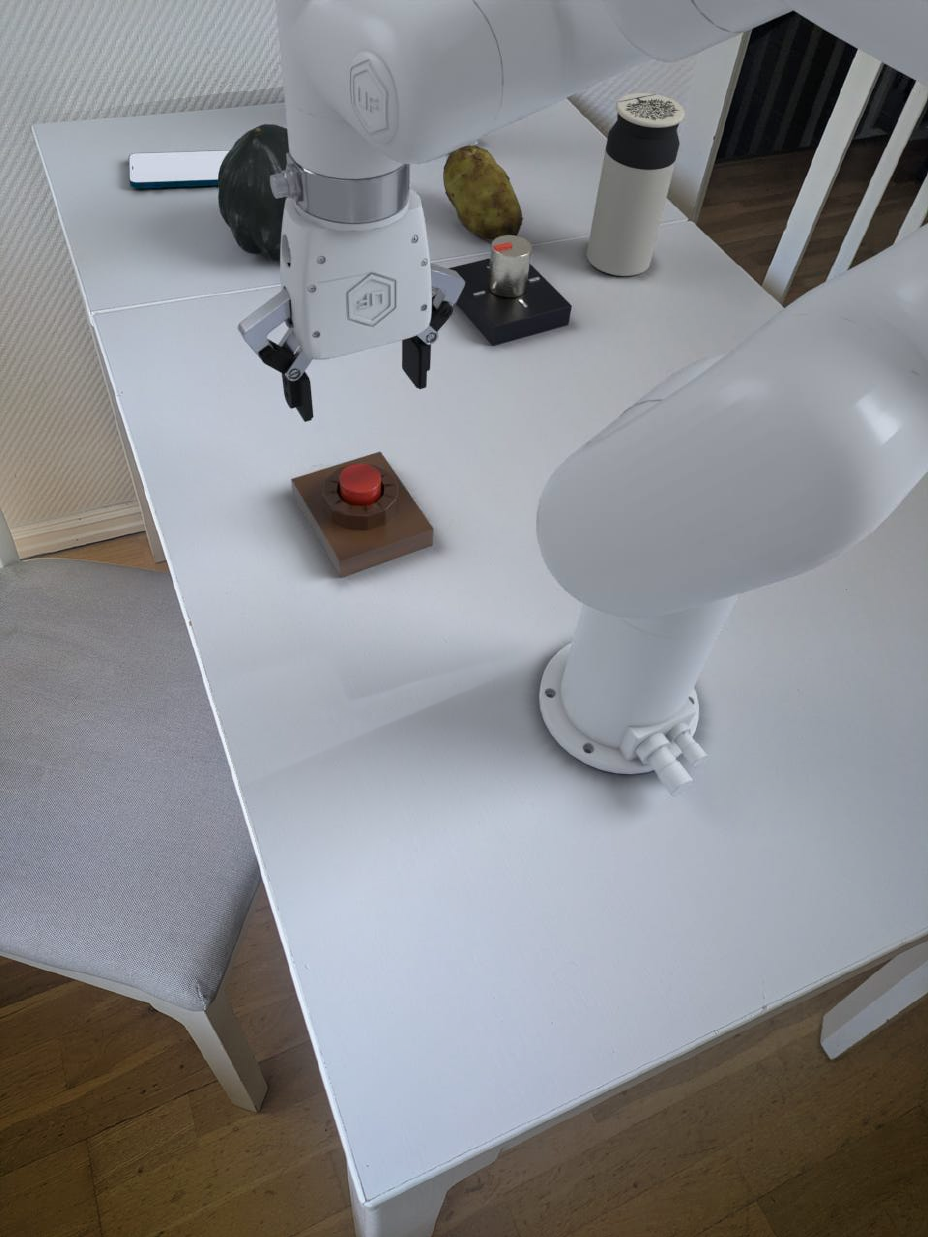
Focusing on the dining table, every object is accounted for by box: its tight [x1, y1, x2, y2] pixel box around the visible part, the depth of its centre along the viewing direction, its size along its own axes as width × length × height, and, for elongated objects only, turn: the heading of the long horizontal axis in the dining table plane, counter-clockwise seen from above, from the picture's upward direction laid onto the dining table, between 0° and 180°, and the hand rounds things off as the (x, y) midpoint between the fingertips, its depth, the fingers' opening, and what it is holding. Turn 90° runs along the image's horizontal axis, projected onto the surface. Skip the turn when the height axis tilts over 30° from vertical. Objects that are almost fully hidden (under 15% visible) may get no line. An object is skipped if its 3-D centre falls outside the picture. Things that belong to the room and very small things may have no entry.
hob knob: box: [488, 235, 533, 298], centre depth 101 cm, size 4×4×5 cm
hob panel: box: [446, 257, 573, 347], centre depth 104 cm, size 12×10×3 cm
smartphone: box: [128, 149, 231, 189], centre depth 118 cm, size 8×1×16 cm
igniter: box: [290, 451, 435, 578], centre depth 81 cm, size 11×9×4 cm
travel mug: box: [586, 92, 685, 277], centre depth 105 cm, size 8×8×18 cm
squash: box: [217, 123, 289, 261], centre depth 105 cm, size 14×15×15 cm
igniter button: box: [339, 464, 381, 506], centre depth 79 cm, size 4×4×2 cm
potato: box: [442, 145, 524, 241], centre depth 112 cm, size 8×13×8 cm, turn 15°
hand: (359, 394), depth 72 cm, fingers open, 9 cm apart
